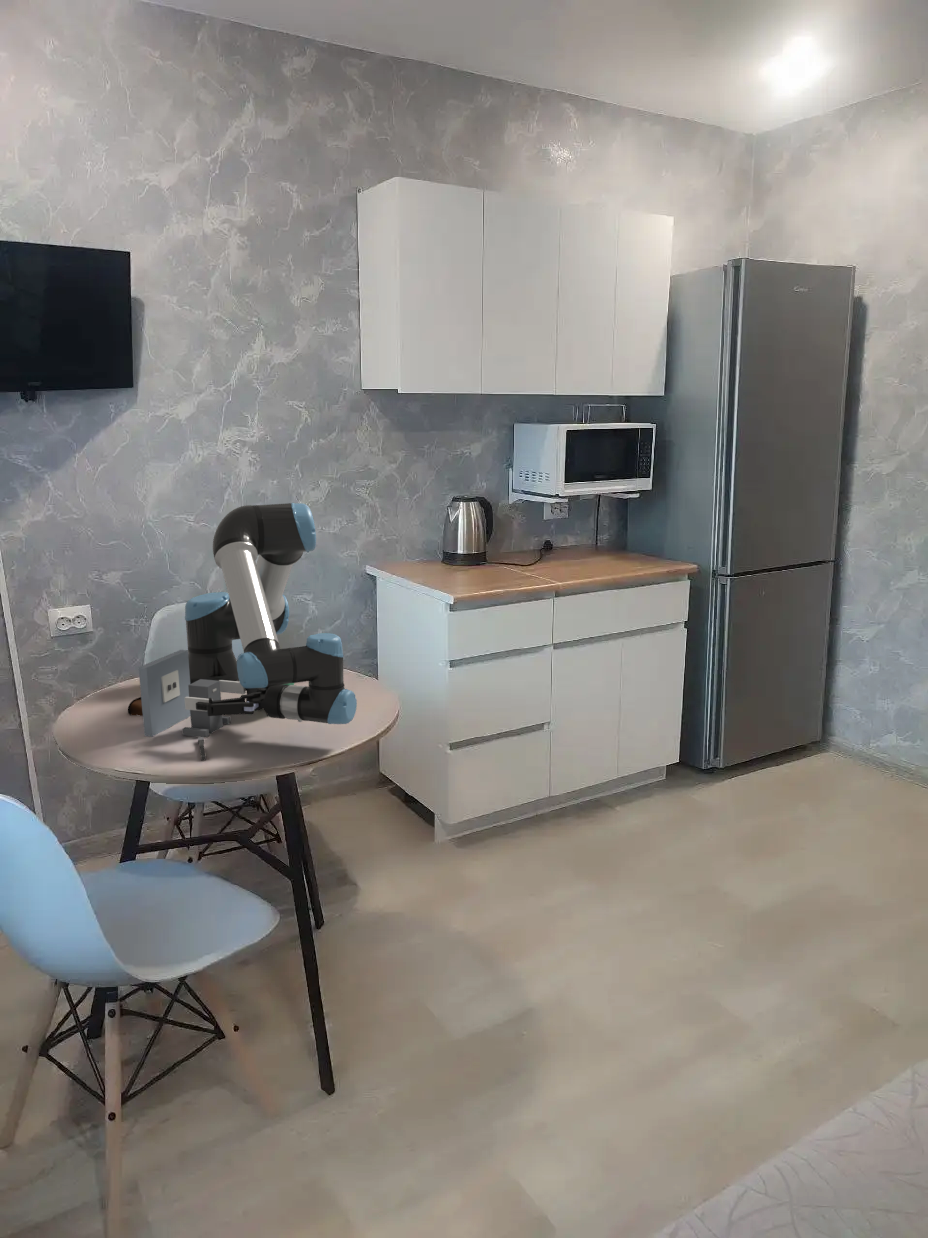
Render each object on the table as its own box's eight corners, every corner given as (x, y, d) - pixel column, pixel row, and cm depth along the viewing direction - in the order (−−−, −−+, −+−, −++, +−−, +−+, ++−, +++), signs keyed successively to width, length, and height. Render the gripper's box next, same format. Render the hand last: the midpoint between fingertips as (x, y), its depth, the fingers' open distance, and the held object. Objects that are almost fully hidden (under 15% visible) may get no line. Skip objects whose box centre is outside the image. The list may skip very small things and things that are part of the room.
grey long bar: (198, 741, 200) (197, 737, 200) (203, 740, 200) (203, 736, 200) (200, 760, 189) (200, 756, 188) (206, 760, 189) (206, 755, 189)
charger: (200, 724, 211) (196, 678, 209) (223, 726, 210) (220, 680, 207) (187, 731, 207) (184, 684, 204) (211, 733, 205) (208, 686, 203)
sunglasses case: (160, 716, 217) (145, 692, 216) (138, 729, 218) (123, 706, 218) (194, 694, 234) (180, 672, 233) (174, 706, 236) (160, 685, 235)
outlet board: (185, 714, 219) (180, 649, 215) (236, 719, 215) (232, 653, 211) (144, 736, 204) (138, 667, 200) (199, 741, 200) (193, 671, 196)
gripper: (259, 736, 189) (171, 727, 195) (313, 701, 212) (233, 694, 218) (257, 702, 187) (169, 694, 193) (312, 670, 210) (231, 664, 217)
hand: (203, 694), depth 206 cm, fingers open, 13 cm apart
